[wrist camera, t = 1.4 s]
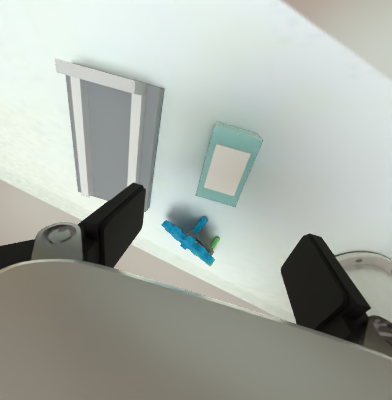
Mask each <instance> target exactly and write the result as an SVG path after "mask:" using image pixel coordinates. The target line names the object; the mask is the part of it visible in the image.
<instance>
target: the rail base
mask: <svg viewBox="0 0 392 400" xmlns="http://www.w3.org/2000/svg"><path fill="white" fill-rule="evenodd" d="M55 63H56V71H57V72H58V73H61V74H65V75H66V83H67V92H68V101H69V111H70V120H71V129H72V139H73V148H74V157H75V167H76V176H77V185H78V192H81V194H82V195H83V196H87V197H89V196H94V197H97V198H101V199H104V200H107V201H109V200H111V199H112V198H113V197H115V196H116V195H117V194H119V193H120V192H121V191H122V190H124V189H125V188H126V187H128V186H129V185H130V184H132V183H137V184H140V185H143V187H144V188H145V189H146V196H145V206H144V212H146V211H147V210H148V208H149V205H150V197H151V189H152V181H153V173H154V165H155V158H156V150H157V142H158V134H159V126H160V118H161V110H162V102H163V94H164V89H163V88H159V87H156V86H152V85H149V84H145V83H141V82H138V81H134V80H131V79H127V78H124V77H120V76H116V75H113V74H109V73H106V72H102V71H98V70H95V69H91V68H88V67H84V66H80V65H77V64H73V63H70V62H66V61H62V60H59V59H55Z"/></svg>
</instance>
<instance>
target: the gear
mask: <svg viewBox="0 0 392 400" xmlns="http://www.w3.org/2000/svg"><path fill="white" fill-rule="evenodd" d="M207 221H208V220H207V219H206V218H205V217H202V219H201V220H200V221H199V222H198V224H197V225H196V226H195V228H194V229H193V230H192V231H191V230H190V231H189V232H188V233H187V235H185V234H183V233H182V232H181V231H182V230H181V229H180V228H179V227H177V226H176V225H174V226H173V225H172V224H171V223H170V222H169V221H167V220H166V221H164V223H163V224H162V226H163V227H164V228H165V230H166V231H167V232H169V233H170V234H171V235H172V236H173V237H174V238H175V239H176V240H178V241H179V242H180V243H181V245H180V246H181V247H183V248H184V249H185V250H186V248H188V249H189V250H191V252H192V253H193V254H194V255H196V256H198V257H199V258H200V259H202V260H203V261H204V262H205V263H206V264H208V265H209V266H211V265H212V263H213V262H214V260H215V259H214V258H213V257H212V254H213V253H214V251H213V248H214V247H215V245H216V244H217V243H218V241H219V240H220V239H219V238H218V237H216V238H215V239H214V241H213V242H212V244H211V245H210V246H208V245H207V244H206V243H205V242H204V241H203V240H202V239H200V238H199V237H198V236H197V234H198V233H199V231H200V230H201V229H202V227H203V226H204V225H205V224H206V222H207ZM195 240H196V241H198V242H199V243H200V244H201V245H202V246H203V247H204V248H203V247H202V246H200V245H198V244H197V243H195Z"/></svg>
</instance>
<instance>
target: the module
mask: <svg viewBox="0 0 392 400" xmlns="http://www.w3.org/2000/svg"><path fill="white" fill-rule="evenodd" d="M262 141H263V140H262V139H261V138H260V137H259V136H258V135H257V134H256V133H254V132H251V131H247V130H244V129H240V128H237V127H233V126H229V125H226V124H222V123H219V122H217V124H216V125H215V126H214V129H213V133H212V136H211V140H210V144H209V147H208V151H207V155H206V158H205V162H204V166H203V169H202V173H201V177H200V180H199V184H198V188H197V191H196V196H199V197H203V198H206V199H209V200H213V201H216V202H220V203H223V204H226V205H230V206H233V207H235V206H236V204H237V201H238V199H239V197H240V194H241V192H242V189H243V187H244V185H245V182H246V180H247V177H248V175H249V173H250V170H251V168H252V165H253V163H254V161H255V158H256V156H257V153H258V151H259V149H260V146H261V144H262Z"/></svg>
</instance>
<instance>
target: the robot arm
mask: <svg viewBox="0 0 392 400" xmlns="http://www.w3.org/2000/svg"><path fill="white" fill-rule="evenodd" d="M145 196H146V189H145V188H144V187H143V185H140V184H137V183H132V184H130V185H129V186H128V187H126V188H125V189H124V190H122V191H121V192H120V193H119V194H117V195H116V196H115V197H113V198H112V199H111V200H109V201H108V202H106V203H105V204H104V205H102V206H101V207H100V208H99V209H97V210H96V211H95V212H93V213H92V214H91V215H90V216H88V217H87V218H86V219H84V220H83V221H82V222H81V223H79V224H78V225H76V224H73V223H69V222H61V223H55V224H52V225H49V226H47V227H45V228H43V229H41V230H40V231H39V232H38V233H37V236H36V238H35V239H34V240H29V241H24V242H18V243H13V244H8V245H3V246H0V400H392V261H391V260H390V259H388V258H386V257H384V256H382V255H379V254H375V253H368V252H356V253H347V254H343V255H339V256H336V257H335V256H334V254H333V253H332V252H331V250H330V249H329V247H328V246H327V244H326V243H325V242H324V240H323V239H322V238H321V237H319V236H316V235H313V234H307V235H304V236H303V237H302V238H301V240H300V241H299V243H298V244H297V246H296V247H295V248H294V250H293V251H292V253H291V254H290V255H289V257H288V258H287V260H286V261H285V263H284V264H283V265H282V267H281V274H282V277H283V281H284V284H285V287H286V290H287V293H288V297H289V300H290V303H291V306H292V310H293V313H294V316H295V319H296V323H297V324H294V323H291V322H288V321H285V320H281V319H278V318H275V317H272V316H269V315H265V314H262V313H259V312H256V311H253V310H249V309H246V308H243V307H240V306H236V305H234V304H230V303H227V302H224V301H221V300H218V299H214V298H211V297H208V296H205V295H201V294H198V293H195V292H192V291H188V290H185V289H182V288H178V287H175V286H172V285H168V284H165V283H162V282H158V281H155V280H152V279H149V278H146V277H142V276H139V275H135V274H132V273H128V272H125V271H121V270H118V269H114V268H113V267H114V266H115V265H116V263H117V262H118V261H119V259H120V258H121V256H122V255H123V254H124V252H125V251H126V250H127V248H128V246H129V245H130V244H131V243H132V241H133V240H134V239H135V237H136V236H137V234H138V233H139V232H140V230H141V228H142V225H143V216H144V206H145Z"/></svg>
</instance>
